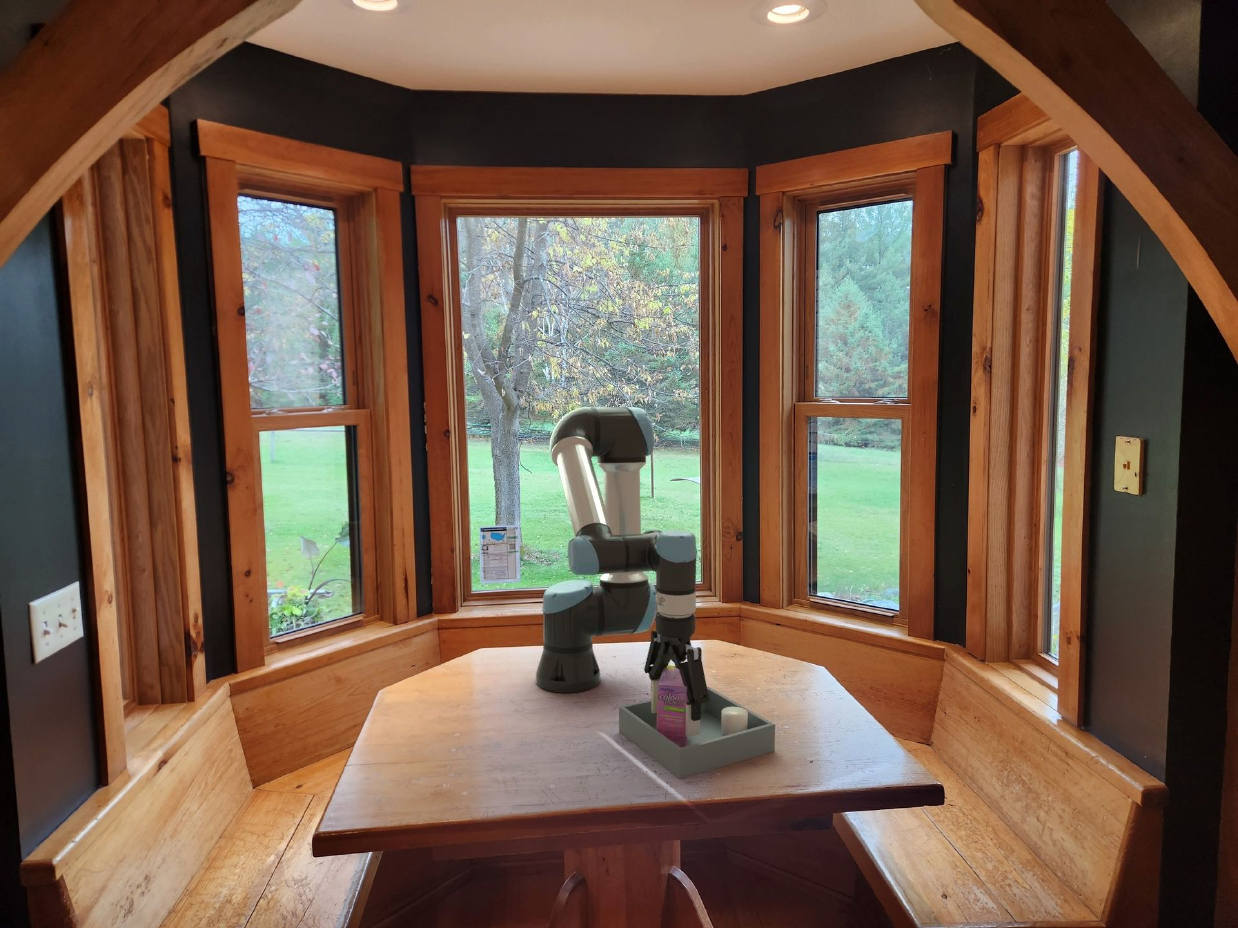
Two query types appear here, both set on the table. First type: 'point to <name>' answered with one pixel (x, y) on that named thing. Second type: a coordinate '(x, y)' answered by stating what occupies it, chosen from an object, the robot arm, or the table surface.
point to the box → (672, 706)
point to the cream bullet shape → (733, 720)
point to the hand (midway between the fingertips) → (674, 722)
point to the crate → (697, 737)
